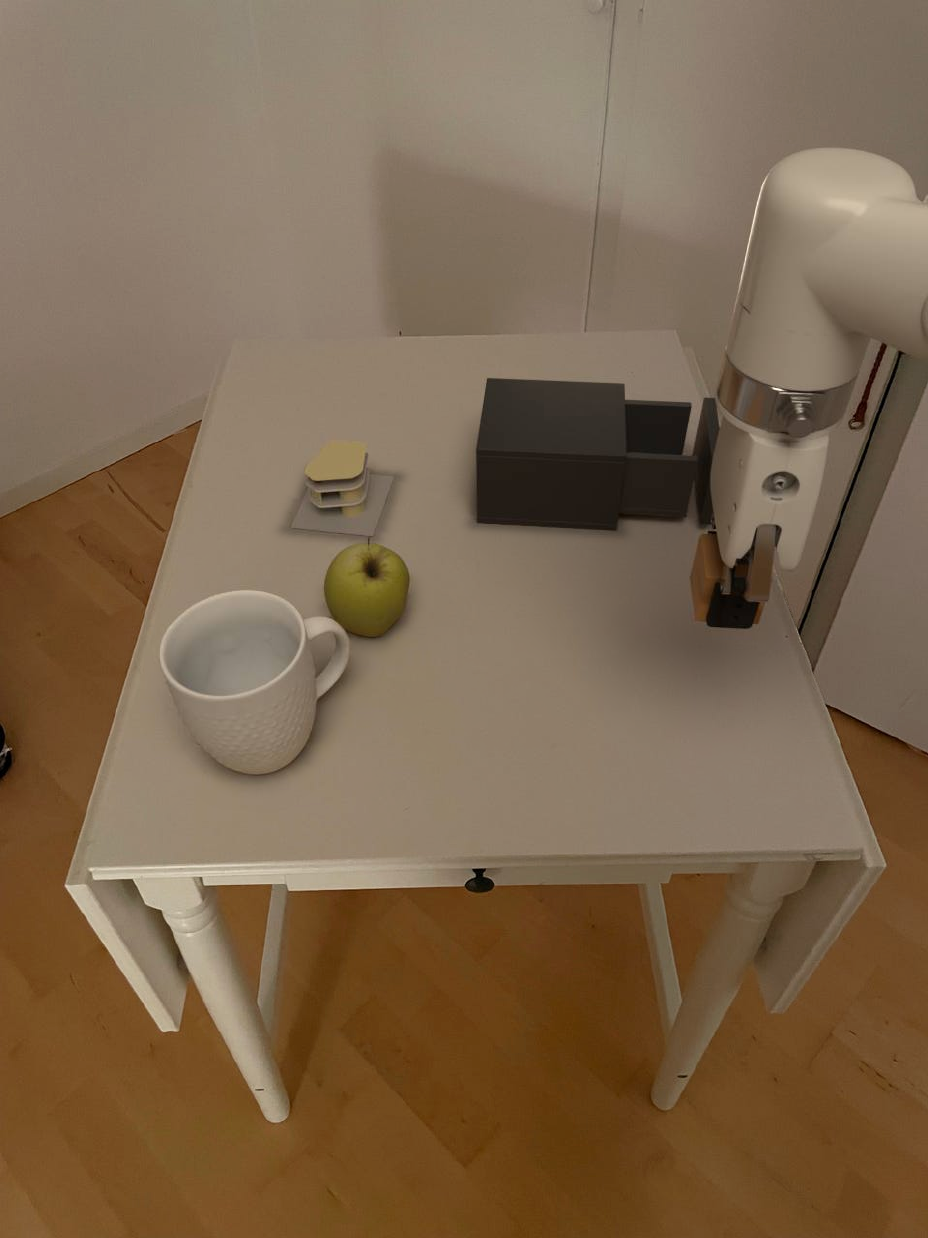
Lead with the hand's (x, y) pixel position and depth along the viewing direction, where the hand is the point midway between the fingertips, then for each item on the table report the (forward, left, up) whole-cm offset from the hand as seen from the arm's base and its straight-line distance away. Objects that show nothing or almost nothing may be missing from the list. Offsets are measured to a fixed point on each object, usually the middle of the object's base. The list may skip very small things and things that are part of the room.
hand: (724, 596), depth 67 cm
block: (0, 0, 0) cm, 0 cm away
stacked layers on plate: (+35, -26, -16) cm, 47 cm away
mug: (+35, +5, -16) cm, 39 cm away
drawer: (+1, -30, -15) cm, 34 cm away
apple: (+29, -9, -16) cm, 35 cm away
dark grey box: (+13, -30, -15) cm, 37 cm away
